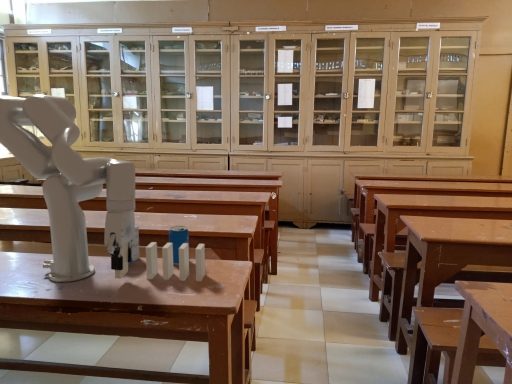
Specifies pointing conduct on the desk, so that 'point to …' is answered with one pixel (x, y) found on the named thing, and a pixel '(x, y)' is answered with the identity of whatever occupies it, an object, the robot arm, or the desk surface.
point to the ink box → (135, 245)
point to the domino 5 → (200, 262)
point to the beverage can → (178, 240)
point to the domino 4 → (184, 261)
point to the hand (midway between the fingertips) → (121, 265)
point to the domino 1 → (125, 262)
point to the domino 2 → (151, 260)
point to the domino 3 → (167, 261)
